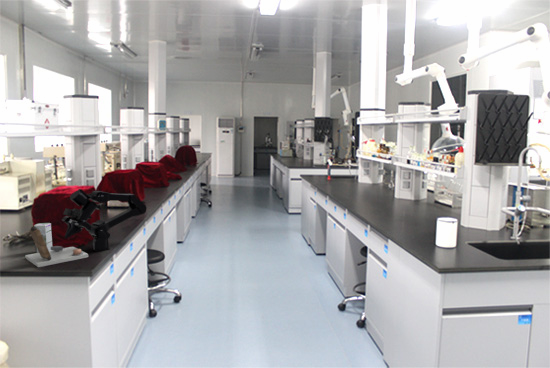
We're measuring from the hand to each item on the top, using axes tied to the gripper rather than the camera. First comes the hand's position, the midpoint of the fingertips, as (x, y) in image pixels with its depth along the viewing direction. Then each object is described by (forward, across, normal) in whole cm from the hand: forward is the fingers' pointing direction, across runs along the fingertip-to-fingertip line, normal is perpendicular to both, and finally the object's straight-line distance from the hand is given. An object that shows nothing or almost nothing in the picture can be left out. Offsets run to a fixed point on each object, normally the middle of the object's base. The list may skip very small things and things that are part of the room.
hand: (65, 237), depth 197 cm
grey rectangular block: (+5, -10, +5) cm, 12 cm away
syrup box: (+8, -20, +6) cm, 22 cm away
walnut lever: (+12, 0, -1) cm, 12 cm away
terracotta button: (+3, +4, +8) cm, 9 cm away
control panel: (+9, -4, +5) cm, 11 cm away
